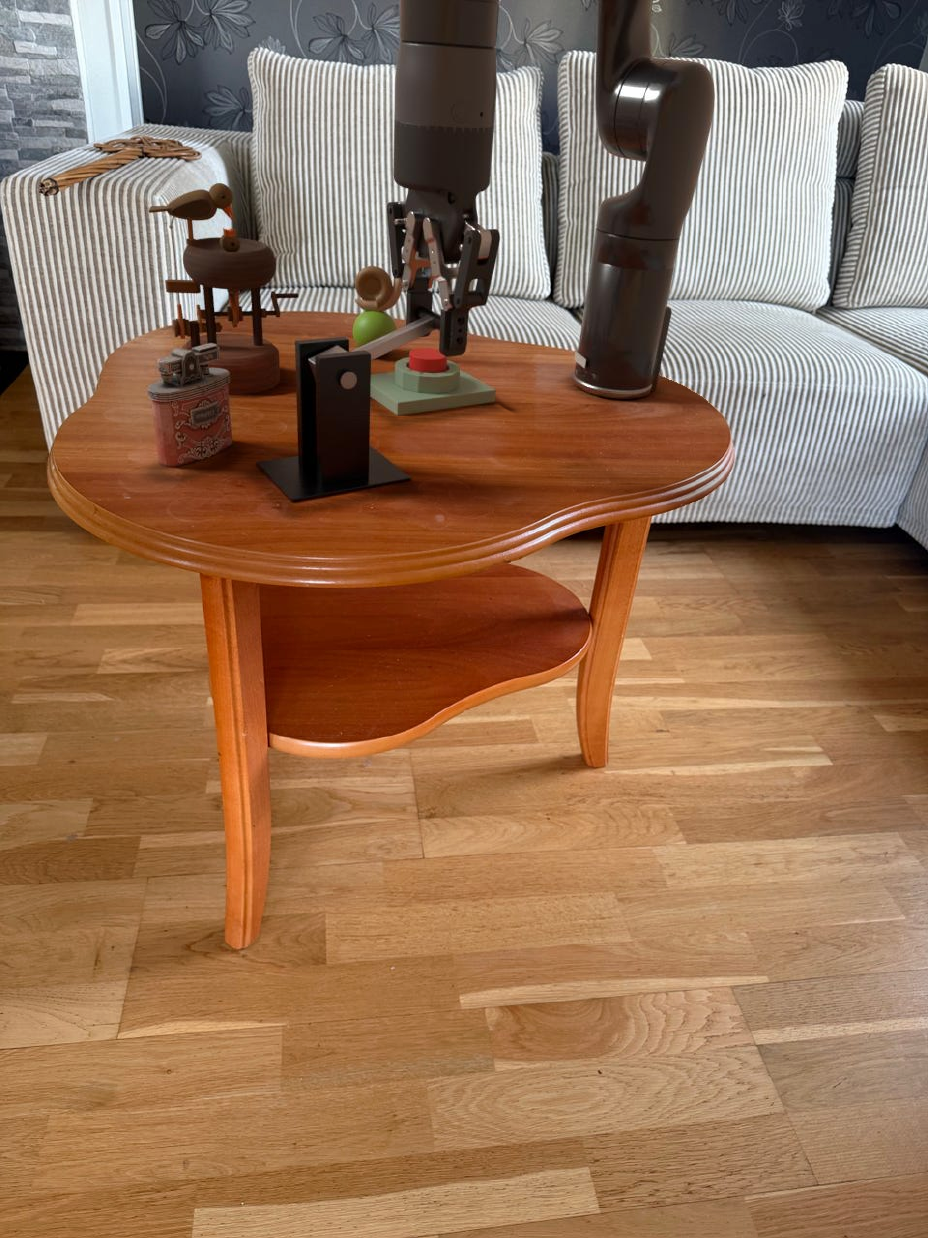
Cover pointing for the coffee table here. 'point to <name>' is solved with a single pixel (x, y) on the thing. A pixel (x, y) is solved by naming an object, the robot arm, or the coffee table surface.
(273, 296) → the bird automaton
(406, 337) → the lever
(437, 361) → the button
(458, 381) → the button box
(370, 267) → the snail figurine
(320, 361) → the bracket
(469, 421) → the coffee table surface
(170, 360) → the lighter
